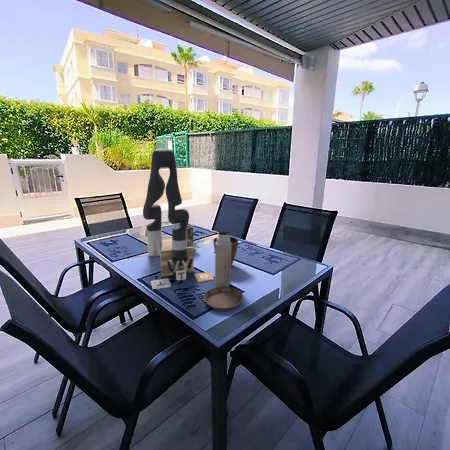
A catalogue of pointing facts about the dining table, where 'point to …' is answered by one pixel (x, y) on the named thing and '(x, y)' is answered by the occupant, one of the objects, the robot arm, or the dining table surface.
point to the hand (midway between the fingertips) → (180, 276)
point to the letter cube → (180, 273)
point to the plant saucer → (223, 298)
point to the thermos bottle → (223, 260)
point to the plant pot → (233, 247)
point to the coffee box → (189, 236)
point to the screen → (166, 256)
